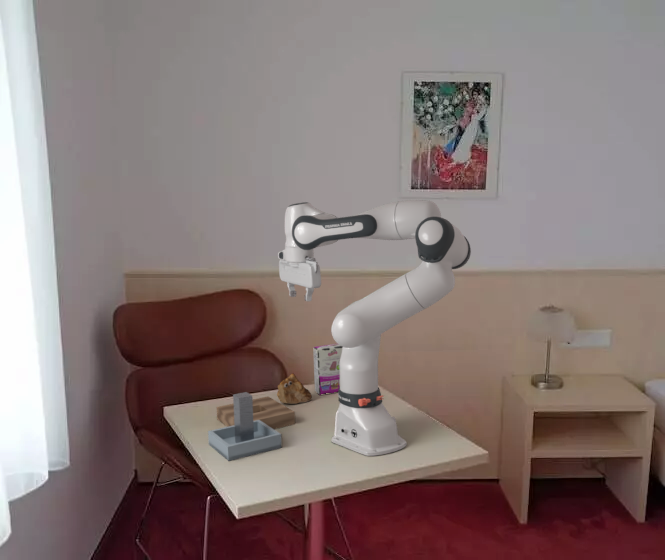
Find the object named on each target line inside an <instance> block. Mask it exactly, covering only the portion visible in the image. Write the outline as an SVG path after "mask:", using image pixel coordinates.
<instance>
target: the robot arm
mask: <svg viewBox="0 0 665 560" xmlns="http://www.w3.org/2000/svg"><path fill="white" fill-rule="evenodd" d="M441 213H442V212H441V211H440V207H439V206H438V205H437V204H436V203H435V202H433V201H432V200H423V199H409V200H408V199H407V200H400V201H398V200H397V201H393V202H392V201H391V202H389V203H386V204H382V205H379V206H376V207H373V208H371V209H369V210H366V211H363V212H360V213H357V214H354V215H349V216H348V215H347V216H343V217H341V216H340V217H338V216H336V215H334V214H330V213H328V212H324V211H321V210H319V209H318V208H316V207H314V206H313V205H312V204H311V203H310V202H306V201H305V202H303V201H302V202H297V203H292V204H290V205H288V206H287V207H286V209H285V213H284V235H285V243H284V249H283V250H281V251H279V252H278V253H277V258H278V259H279V261H278V273H279V279H280V280H281V282H285V283H286V287H287V288H288V291H289V294H288V295H289V297H291V298H295V297H297V290H296V288H295V286H299V287H304V288H305V291H306V293H305V295H304V297H303V298H304V301H305V302H312V300H313V297H312V296H313V293H314V291H315V289H319V288H321V286H322V275H321V273H322V272H321V268H320V265H319V262H318V261H317V259H316V258H315V257H314V253H315V252H314V249H317V248H319V247H320V248H321V247H326V246H329V245H333V244H334V243H336V242H338V241H340V240H349V239H369V240H383V241H404V240H412V239H415V244H416V247H417V256H418V258H419V259H420V260H421V263H420V264H419V265H418V266H417V267H415V268H413V269H411V270H410V271H408V272H406V273H405V274H403V275H401V276H398V277H397V278H395V279H394V280H392V281H391V282H388V283H387V284H385V285H383V286H382V287H379V288H378V289H376V290H374V291H373V292H371V293H369V294H368V295H366V296H365V297H362V298H361V299H358V300H356V301H353V302H352V303H350V304H349V305H347V306H346V307H345V308H343V309H341V310H340V311H339V312H338V313H337V314H336V316H335V317H334V319H333V321H332V324H331V328H330V330H331V335H332V336H331V337H332V338H333V340H334V341H335V343H336V344H339V345H340V346H342V354H341V358H340V362H339V368H340V388H339V390H338V392H337V398H338V399H337V400H338V402H339V405H338V407H337V411H336V413H335V419H334V421H335V422H334V423H335V424H334V434H333V436H332V437H331V442H332V443H333V444H335V445H338V446H341V447H343V448H346V449H348V450H351V451H353V452H356V453H359V454H361V455H364V456H367V457H368V456H369V457H373V456H382V455H386V454H387V455H388V454H391V453H394V452H397V451H400V450H401V449H404V448H405V447H407V445H408V444H407V441H406V440H405V439H404V438H403V437H401V436H400V435H399V433H398V432H399V431H398V425H397V420H396V417H395V416H392V415H391V414H390V413H389V411H388V410H387V408H386V407H385V405H384V404H383V400H384V396H385V395H382V392H381V389H380V387H379V354H380V349H381V348H380V347H381V338H382V337H381V336H382V334H383V333H385V332H387V331H388V330H390V329H392V328H393V327H395V326H397V325H398V324H400V323H402V322H404V321H405V320H407V319H409V318H411V317H413V316H415V315H417V314H418V313H420V312H422V311H424V310H426V309H427V308H429V307H431V306H433V305H434V304H436V303H437V302H439V301H441V300H442V299H443V298H445V297H446V296H447V295H448V294H450V292H452V291H453V289H454V287H455V284H456V278H455V274H454V272H453V270H457V269H460V268H462V267H464V266H465V265H466V264H468V261H469V260H470V257H471V254H472V249H471V245H470V242H469V240H468V239H467V238H466V236H464V234H462V232H461V230H460V229H459V228H458V227H457V226H456V225H454V224H453V223H451V222H450V221H449V220H448V219H445V218H443V217H442V214H441Z"/></svg>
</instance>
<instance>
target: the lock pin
mask: <svg viewBox="0 0 665 560" xmlns="http://www.w3.org/2000/svg"><path fill="white" fill-rule="evenodd" d="M232 397H233V399H232V400H233V403H234V424H235V442H236V443H240V442H244V441H248V440H252V439H254V425H253V395H252V394H250V393H249V392H247V391H245V392H238V393H235V394H232Z"/></svg>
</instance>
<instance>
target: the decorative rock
mask: <svg viewBox="0 0 665 560" xmlns="http://www.w3.org/2000/svg"><path fill="white" fill-rule="evenodd" d="M277 390H278V391H277V393H276V395H277V398H278V400H279V401H280V402H279V403H282V404H286V405H287V404H288V405H292V404H294V405H296V404H300V403H307V402H308V403H309V402H311V401H312V399H313V396H312V393H311V392H310V390H308V389H307V388H306V387H305V386H304V385H303V383H302V382H301V381H300V380H299V379H298V377H297V376H296V375H295V373H294V372H292V373H290V374H289V375H288V377H286V378H284V379H282V381H280V382H279V384H278V385H277Z"/></svg>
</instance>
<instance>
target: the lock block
mask: <svg viewBox="0 0 665 560" xmlns="http://www.w3.org/2000/svg"><path fill="white" fill-rule="evenodd" d="M252 400H253V421H255V420H260V421H262V422H263V423H265V424H266V425H268V426H269V427H271V428H272V429H274V430H277V429H281V428H285V427H288V426H289V427H290V426H293V425H296V418H295V417H296V416H295V415H296V414H295V413H296V412H295V411H294V410H293V409H291V408H289V407H287V406H286V405H284V404H283V403H281V402H279V401H277V400H275V399H274V398H272V397H270V396H262V397H259V398H254V399H253V398H252ZM216 419H217V420H218V421H219V423H221V424H223V425H224V426H225V427H229V426H233V425H235V424H234V402H233V403H229V404H224V405H219V406H216Z"/></svg>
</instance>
